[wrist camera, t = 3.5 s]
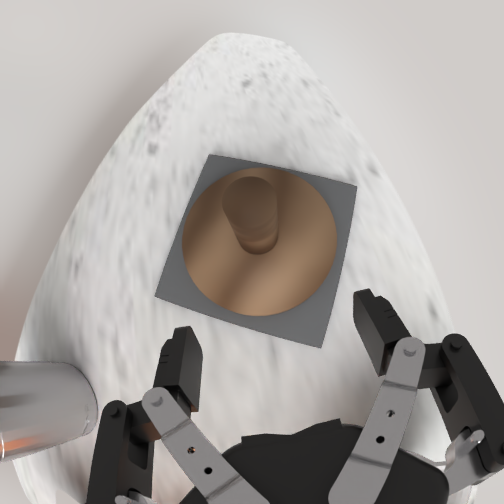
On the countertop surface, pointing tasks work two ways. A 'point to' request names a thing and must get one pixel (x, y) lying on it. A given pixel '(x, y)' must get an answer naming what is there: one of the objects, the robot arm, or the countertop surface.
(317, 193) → the walnut lid
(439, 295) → the countertop surface
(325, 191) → the rubber mat
